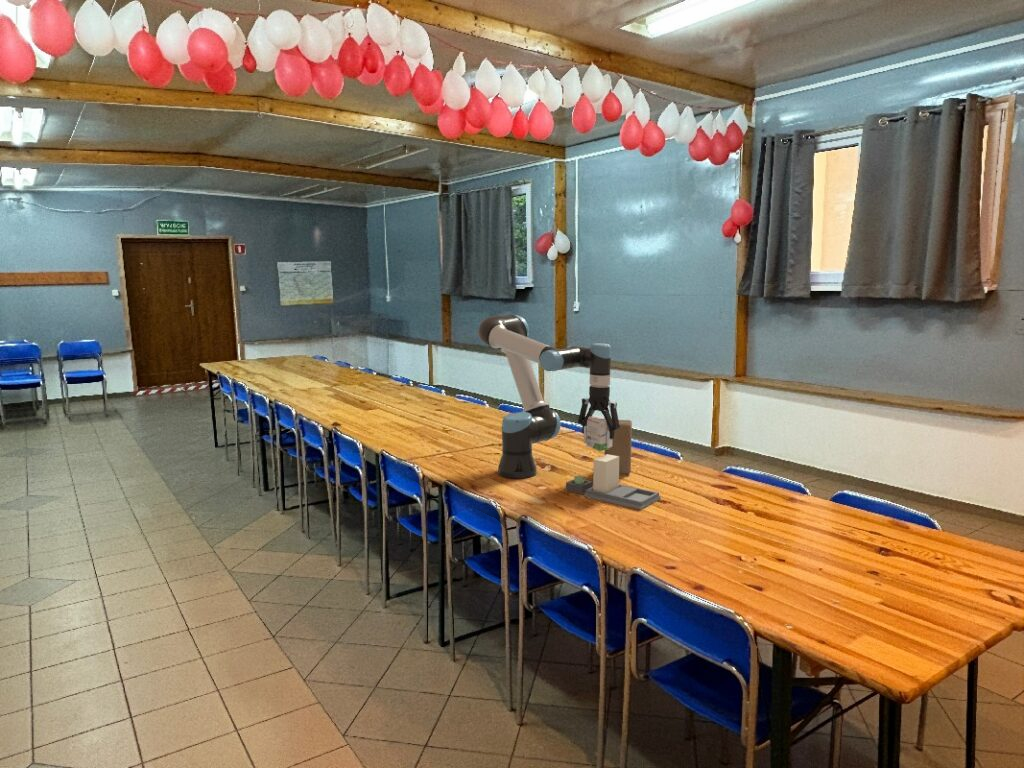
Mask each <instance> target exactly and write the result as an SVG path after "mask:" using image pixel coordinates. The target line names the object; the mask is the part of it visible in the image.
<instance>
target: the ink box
mask: <svg viewBox="0 0 1024 768" xmlns="http://www.w3.org/2000/svg"><path fill="white" fill-rule="evenodd" d="M607 430H609V428H608V425H607V423H606V419H605V418H604V416H601V415H598V414H593V415H592V416H589V417H588V420H587V439H586V443H585V444H586V445H585V446H586V447H588V448H591V449H593V450H596V451H598V452H602V451H605V450H609V449H610V448H607Z"/></svg>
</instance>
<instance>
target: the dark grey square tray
mask: <svg viewBox="0 0 1024 768" xmlns="http://www.w3.org/2000/svg"><path fill="white" fill-rule="evenodd" d="M591 487H593V481H591V480H589V479H584V484H582V485H580V484H575V483H574V479H571V480H569V481H567V482H565V492H570V493H575V494H579V495H585V493H586V490H587V489H589V488H591Z"/></svg>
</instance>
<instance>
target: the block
mask: <svg viewBox="0 0 1024 768" xmlns="http://www.w3.org/2000/svg"><path fill="white" fill-rule="evenodd" d="M618 420H619V426H620V428H619V429H616V430H615V435H614V439H612V447H610V449H609V450H604V455H606V454H609V455H614V456H619V475H621V476H622V475H623V476H625V475H626V476H629V475H630V474H631V469H632V433H633V432H632V431H633V430H632V429H633V427H632V425H633V422H632V421H631V420H630V419H618Z"/></svg>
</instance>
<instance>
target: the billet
mask: <svg viewBox="0 0 1024 768" xmlns="http://www.w3.org/2000/svg"><path fill="white" fill-rule="evenodd" d="M592 482H593V491H598V492H602V493H609V492H611V491H613V490H615V489H617V488H619V484H620V474H619V456H614V455H609V454H606V455H605V454H604V455H601V456H599V457H597V458H594V459H593V481H592Z"/></svg>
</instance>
